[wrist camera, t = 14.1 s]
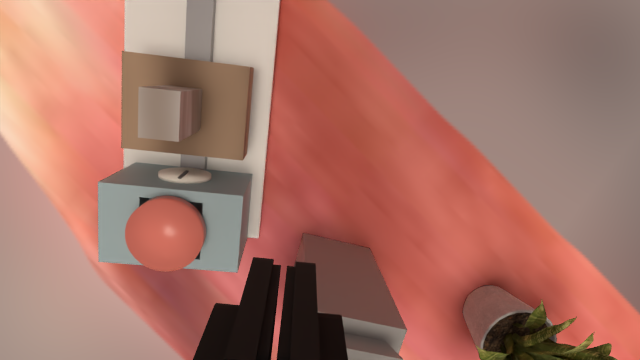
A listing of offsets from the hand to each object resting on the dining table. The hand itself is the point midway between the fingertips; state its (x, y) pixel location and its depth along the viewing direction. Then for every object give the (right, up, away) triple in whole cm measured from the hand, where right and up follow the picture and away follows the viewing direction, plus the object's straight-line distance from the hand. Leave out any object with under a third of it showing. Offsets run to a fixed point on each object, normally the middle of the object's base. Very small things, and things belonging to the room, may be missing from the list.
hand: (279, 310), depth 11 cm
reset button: (-10, 0, +20) cm, 22 cm away
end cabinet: (-10, +2, +25) cm, 27 cm away
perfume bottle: (+2, -6, +30) cm, 30 cm away
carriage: (-9, +9, +22) cm, 26 cm away
